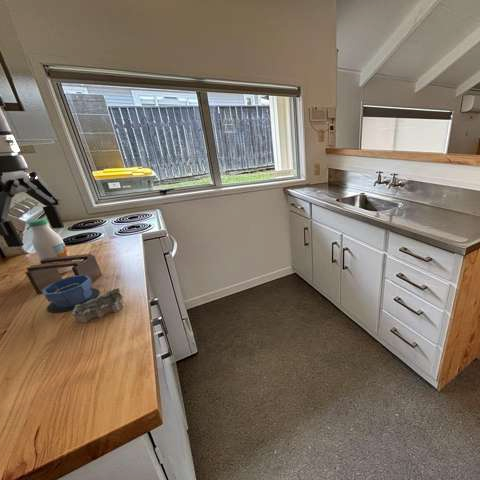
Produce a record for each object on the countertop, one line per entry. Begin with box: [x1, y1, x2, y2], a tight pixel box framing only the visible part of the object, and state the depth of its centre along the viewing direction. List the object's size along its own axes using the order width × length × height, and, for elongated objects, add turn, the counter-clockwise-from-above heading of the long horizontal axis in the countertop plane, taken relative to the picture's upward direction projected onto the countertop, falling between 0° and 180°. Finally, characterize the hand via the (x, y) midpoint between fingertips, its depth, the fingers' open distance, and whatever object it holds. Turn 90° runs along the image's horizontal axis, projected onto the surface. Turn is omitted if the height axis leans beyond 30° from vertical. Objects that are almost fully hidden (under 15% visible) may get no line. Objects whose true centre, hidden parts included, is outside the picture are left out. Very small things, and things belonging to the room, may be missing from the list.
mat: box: [46, 287, 100, 314], centre depth 78 cm, size 12×12×1 cm
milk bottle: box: [27, 218, 74, 275], centre depth 93 cm, size 8×8×20 cm
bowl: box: [42, 275, 94, 308], centre depth 77 cm, size 10×10×6 cm
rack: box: [25, 253, 103, 295], centre depth 85 cm, size 14×9×9 cm, turn 99°
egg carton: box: [71, 288, 124, 324], centre depth 72 cm, size 11×8×4 cm
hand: (39, 236), depth 70 cm, fingers open, 13 cm apart
